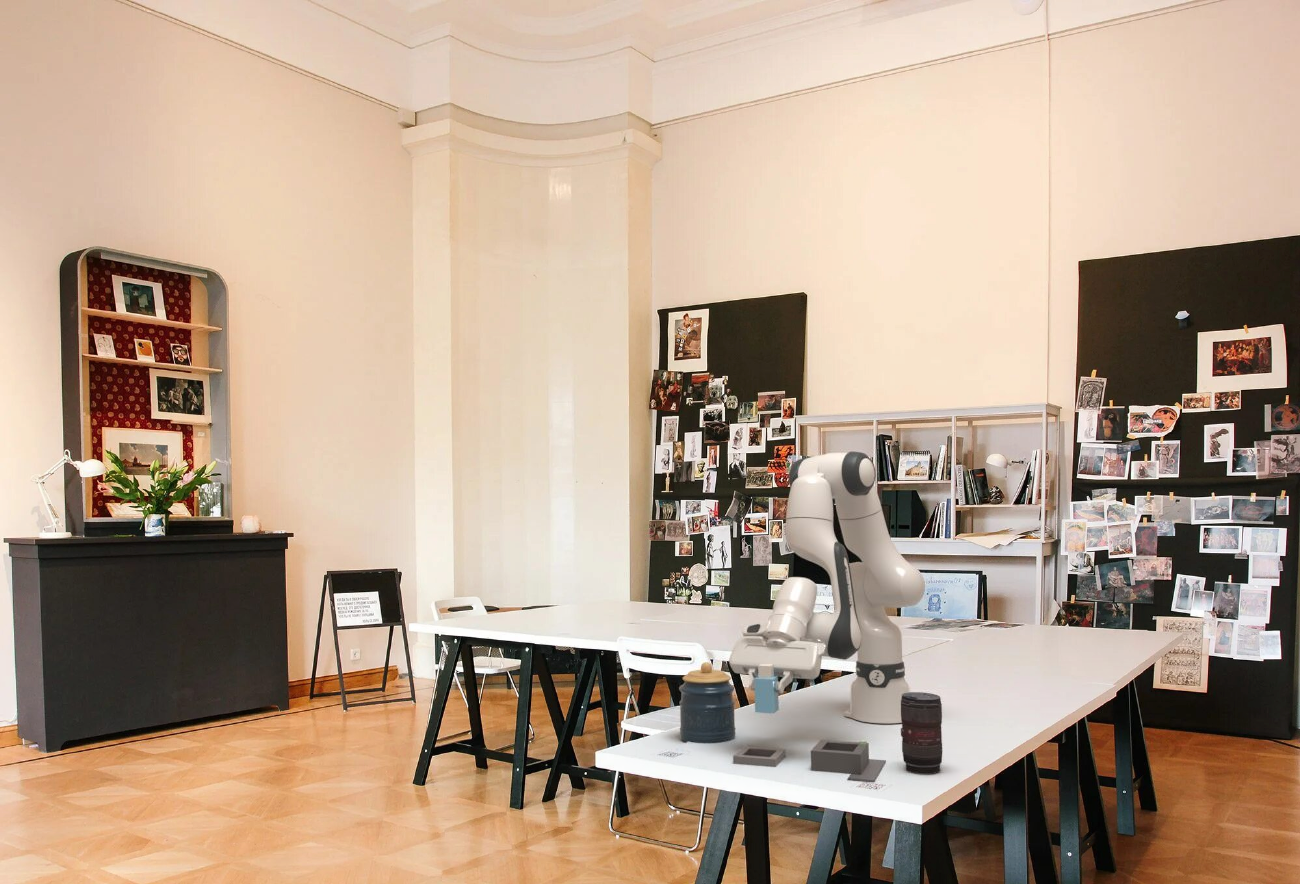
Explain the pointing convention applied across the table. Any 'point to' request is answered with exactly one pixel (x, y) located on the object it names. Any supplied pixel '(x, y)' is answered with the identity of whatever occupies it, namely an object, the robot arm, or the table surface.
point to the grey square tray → (759, 756)
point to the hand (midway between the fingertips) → (765, 690)
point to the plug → (766, 690)
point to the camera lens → (921, 732)
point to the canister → (707, 706)
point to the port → (846, 759)
